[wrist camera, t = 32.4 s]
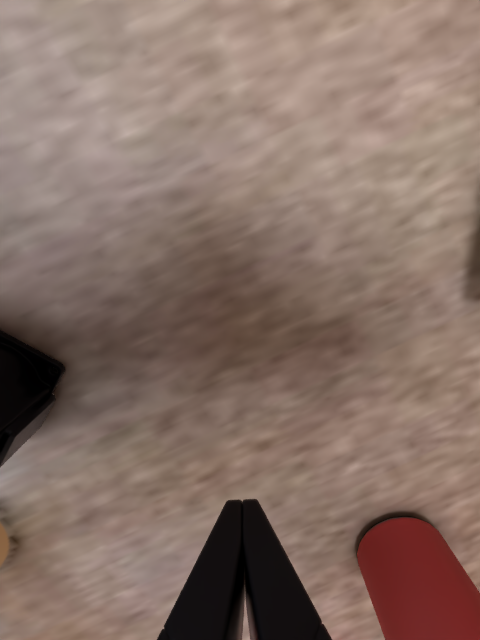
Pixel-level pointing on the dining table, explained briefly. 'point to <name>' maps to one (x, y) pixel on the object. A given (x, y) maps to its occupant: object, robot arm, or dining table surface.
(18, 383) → the robot arm
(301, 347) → the dining table surface
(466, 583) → the beer can
